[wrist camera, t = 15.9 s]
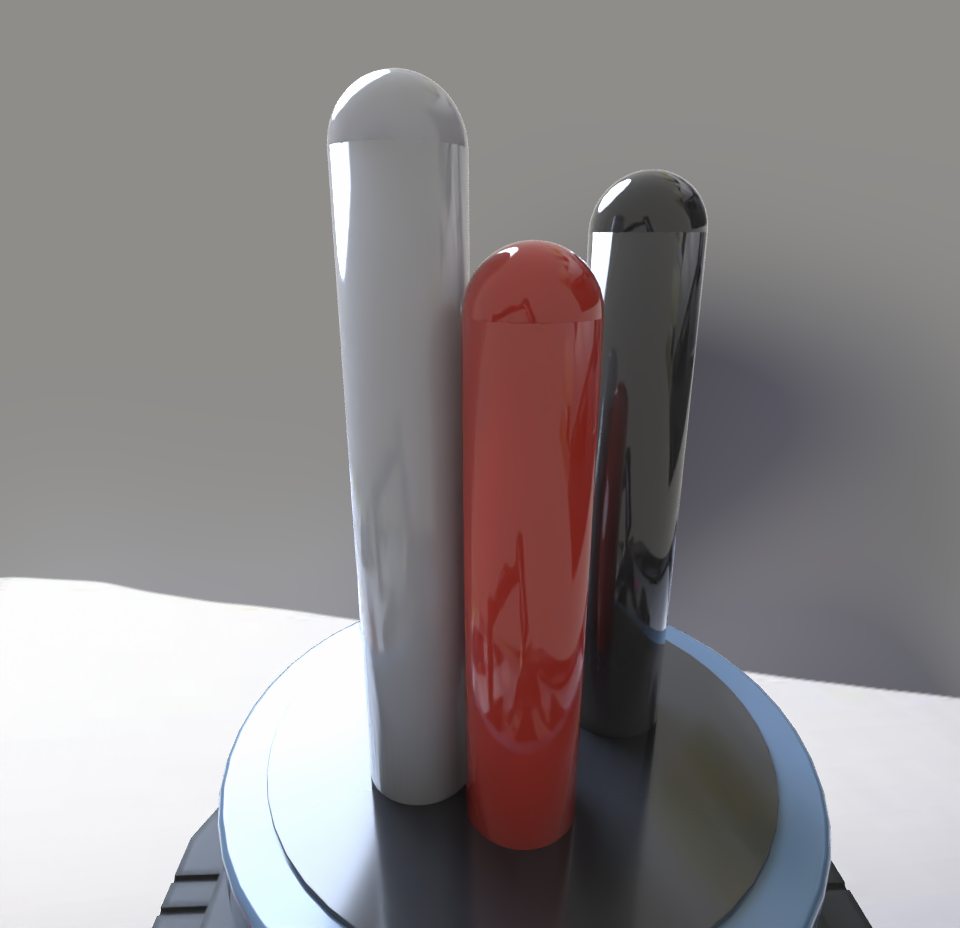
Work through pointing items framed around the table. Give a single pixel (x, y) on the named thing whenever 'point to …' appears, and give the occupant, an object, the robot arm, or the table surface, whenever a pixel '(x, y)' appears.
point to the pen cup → (513, 589)
